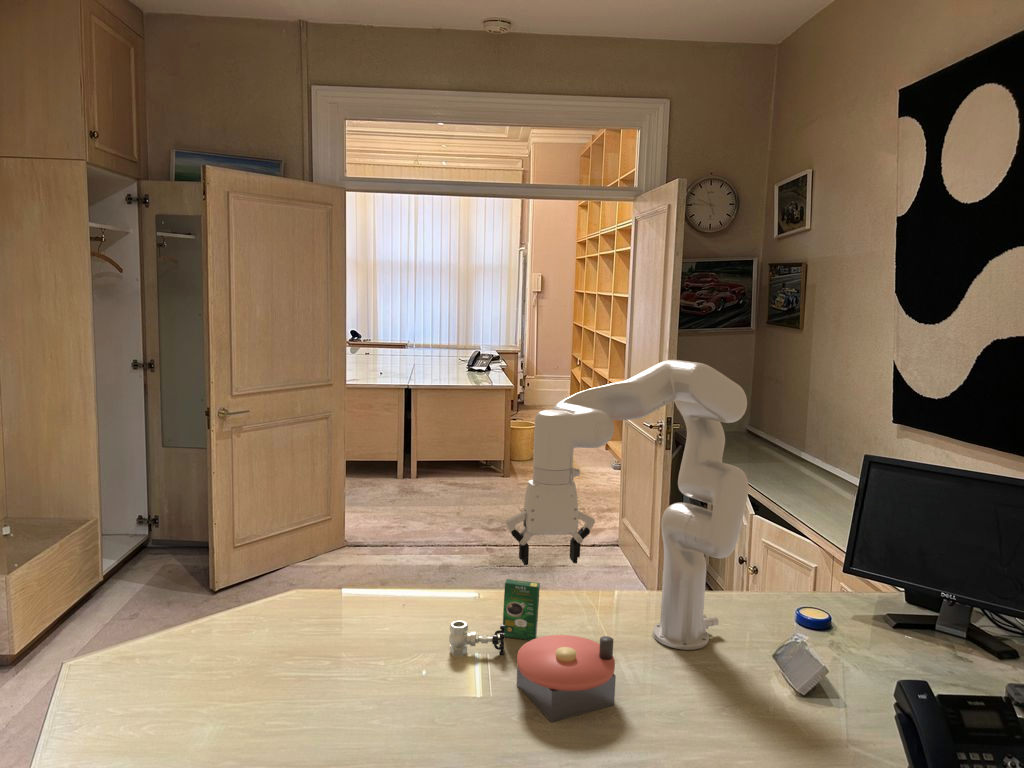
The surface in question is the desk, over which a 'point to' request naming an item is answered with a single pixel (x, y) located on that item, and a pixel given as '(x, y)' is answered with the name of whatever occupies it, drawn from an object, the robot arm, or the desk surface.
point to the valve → (472, 638)
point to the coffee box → (521, 609)
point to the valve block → (567, 698)
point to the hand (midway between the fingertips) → (549, 561)
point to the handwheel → (567, 662)
